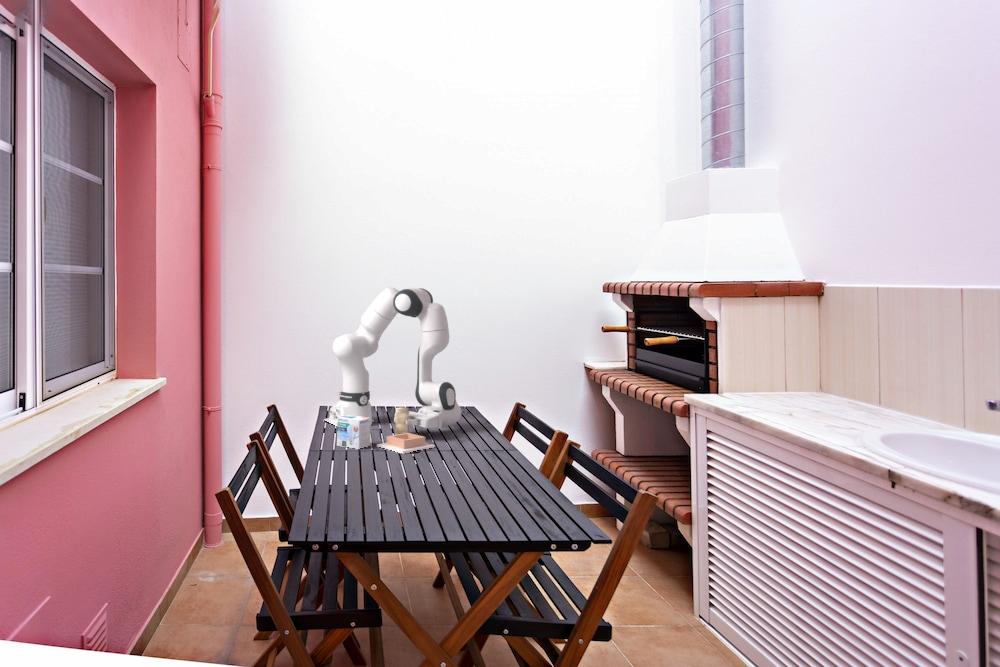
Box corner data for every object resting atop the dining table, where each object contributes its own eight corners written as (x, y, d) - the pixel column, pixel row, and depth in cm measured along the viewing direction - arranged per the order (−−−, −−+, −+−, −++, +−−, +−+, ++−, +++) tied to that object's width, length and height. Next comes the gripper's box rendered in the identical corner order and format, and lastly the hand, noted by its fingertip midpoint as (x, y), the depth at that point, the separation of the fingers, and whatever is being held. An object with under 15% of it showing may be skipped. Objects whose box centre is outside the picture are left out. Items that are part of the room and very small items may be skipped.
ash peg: (392, 439, 275) (393, 408, 274) (402, 437, 278) (403, 407, 278) (401, 441, 271) (401, 410, 271) (411, 439, 275) (411, 408, 274)
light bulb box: (336, 446, 260) (336, 417, 260) (348, 443, 266) (348, 414, 266) (359, 449, 255) (359, 420, 255) (371, 446, 261) (371, 417, 261)
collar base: (376, 446, 260) (376, 436, 260) (408, 441, 271) (408, 430, 271) (402, 454, 250) (403, 442, 250) (434, 447, 261) (434, 437, 261)
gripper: (410, 406, 291) (383, 409, 281) (444, 413, 277) (417, 417, 267) (410, 421, 291) (383, 425, 281) (444, 429, 277) (417, 433, 267)
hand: (400, 421), depth 274 cm, fingers closed on ash peg, 5 cm apart
